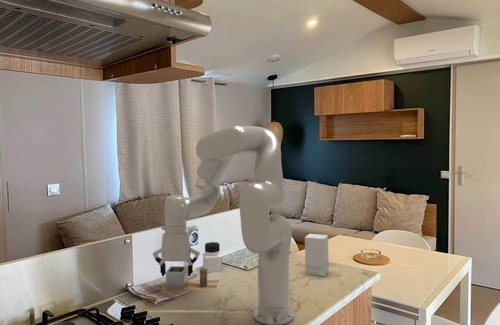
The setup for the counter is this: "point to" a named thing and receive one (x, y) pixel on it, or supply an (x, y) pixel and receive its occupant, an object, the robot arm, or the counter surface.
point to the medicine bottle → (212, 257)
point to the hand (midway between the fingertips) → (176, 274)
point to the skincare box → (316, 254)
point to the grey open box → (176, 278)
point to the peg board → (196, 283)
